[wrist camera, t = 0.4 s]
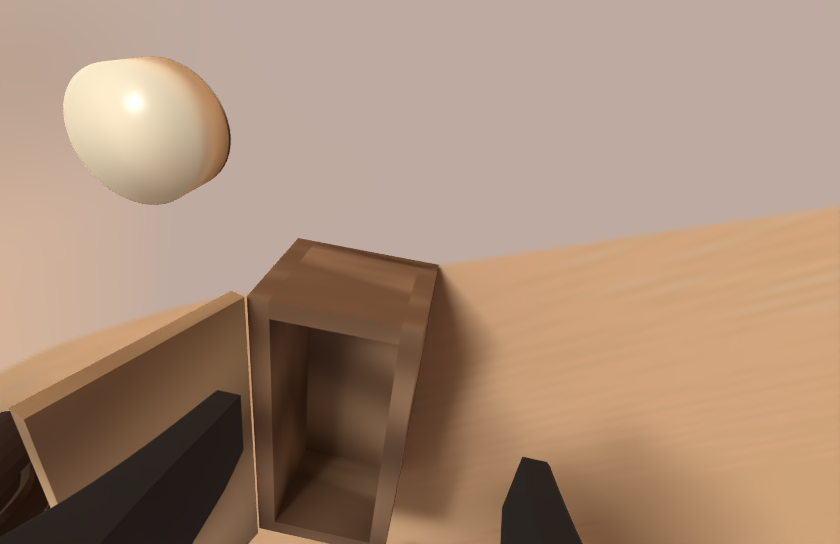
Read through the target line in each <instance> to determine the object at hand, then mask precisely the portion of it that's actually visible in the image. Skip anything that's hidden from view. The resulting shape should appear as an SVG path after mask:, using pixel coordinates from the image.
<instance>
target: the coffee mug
mask: <svg viewBox="0 0 840 544" xmlns="http://www.w3.org/2000/svg"><path fill="white" fill-rule="evenodd" d="M50 508H51V507H50V505H49V502H48V500H47V498H46V495H45V493H44V491H43V488H42V486H41V483H40V481H39V479H38V476H37V474H36V471H35V469H34V467H33V464H32V462H31V460H30V457H29V455H28V452H27V450H26V448H25V445H24V443H23V440H22V438H21V436H20V433H19V431H18V429H17V426H16V424H15V421H14V419H13V417H12V414H11V412H10V411H5V412H1V413H0V537H1V536H3V535H5V534H6V533H8V532H10V531H12V530H13V529H15V528H17V527H19V526H21V525H22V524H24V523H26V522H28V521H30V520H31V519H33V518H35V517H37V516H38V515H40V514H42V513H43V512H45V511H47V510H48V509H50Z"/></svg>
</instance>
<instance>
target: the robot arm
mask: <svg viewBox="0 0 840 544" xmlns="http://www.w3.org/2000/svg"><path fill="white" fill-rule="evenodd" d="M243 450H244V447H243V428H242V409H241V395H238V394H233V393H229V392H224V391H220V390H217V391H215V392H214V393H212V394H211V395H210V396H209V397H207V398H206V399H205V400H204V401H202V402H201V403H200V404H198V405H197V406H196V407H195V408H193V409H192V410H191V411H190V412H188V413H187V414H186V415H184V416H183V417H182V418H181V419H179V420H178V421H177V422H175V423H174V424H173V425H171V426H170V427H169V428H168V429H166V430H165V431H164V432H162V433H161V434H160V435H158V436H157V437H156V438H154V439H153V440H151V441H150V442H149V443H147V444H146V445H145V446H143V447H142V448H141V449H139V450H138V451H137V452H135V453H134V454H132V455H131V456H130V457H128V458H127V459H125V460H124V461H122V462H121V463H120V464H118V465H117V466H115V467H114V468H112V469H111V470H109V471H108V472H106V473H105V474H103V475H102V476H100V477H99V478H98V479H96V480H95V481H93V482H92V483H90V484H89V485H87V486H85V487H84V488H82V489H81V490H79V491H78V492H76V493H75V494H73V495H71V496H70V497H68V498H67V499H65V500H63V501H62V502H60V503H58V504H57V505H55V506H53V507H52V508H50V509H48V510H47V511H45V512H43V513H42V514H40V515H38V516H37V517H35V518H33V519H31V520H30V521H28V522H26V523H24V524H22V525H21V526H19V527H17V528H15V529H13V530H12V531H10V532H8V533H6V534H5V535H3V536H1V537H0V544H193V542H194V540H195V539H196V537H197V535H198V534H199V532H200V531H201V529H202V527H203V526H204V524H205V522H206V521H207V519H208V517H209V516H210V514H211V512H212V511H213V509H214V507H215V506H216V504H217V502H218V501H219V499H220V497H221V496H222V494H223V492H224V490H225V489H226V487H227V485H228V482H229V480H230V478H231V476H232V474H233V472H234V470H235V468H236V465H237V463H238V461H239V459H240V457H241V454H242V452H243ZM501 544H582V542H581V539H580V537H579V535H578V533H577V531H576V529H575V526H574V524H573V522H572V520H571V517H570V515H569V513H568V510H567V508H566V506H565V503H564V501H563V498H562V496H561V494H560V491H559V489H558V486H557V483H556V481H555V478H554V476H553V473H552V471H551V468H550V466H549V464H548V463H547V462H544V461H539V460H535V459H530V458H526V457H522V459H521V462H520V464H519V467H518V469H517V472H516V474H515V477H514V479H513V482H512V484H511V487H510V489H509V492H508V494H507V497H506V499H505V502H504V504H503V507H502V524H501Z"/></svg>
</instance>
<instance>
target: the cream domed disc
mask: <svg viewBox="0 0 840 544" xmlns="http://www.w3.org/2000/svg"><path fill="white" fill-rule="evenodd" d="M63 111H64V121H65V126H66V130H67V133H68V136H69V139H70V141H71V144H72V146H73V148H74V150H75V151H76V153H77V155H78V156H79V158H80V160H81V161H82V162H83V164H84V165H85V166H86V168H87V169H88V170H89V171H90V172H91V173H92V174H93V175H94V177H96V178H97V179H98V180H99V181H100V182H101V183H102V184H103V185H105V186H106V187H107V188H109V189H110V190H112V191H113V192H115V193H117V194H118V195H120V196H122V197H124V198H126V199H129V200H132V201H134V202H138V203H142V204H150V205H159V204H166V203H169V202H172V201H174V200H176V199H178V198H180V197H182V196H183V195H185V194H187V193H189V192H190V191H192V190H194V189H196V188H197V187H199V186H201V185H203V184H204V183H206V182H208V181H210V180H212V179H213V178H214V177H216V176H217V174H219V173H220V172H221V170H222V169H223V167H224V166H225V164H226V162H227V159H228V156H229V153H230V146H231V134H230V127H229V123H228V119H227V116H226V113H225V110H224V109H223V106H222V104H221V102H220V101H219V99H218V97H217V96H216V94H215V93H214V91H213V90H212V89H211V88H210V86H209V85H208V84H207V83H206V82H205V81H204V80H203V79H202V78H201V77H200V76H199V75H198V74H196V73H195V72H194V71H192V70H191V69H189V68H188V67H186V66H184V65H183V64H181V63H179V62H176V61H174V60H171V59H167V58H163V57H154V56H153V57H141V58H131V59H122V60H112V61H103V62H98V63H94V64H91V65H89V66H86V67H84V68H83V69H82V70H80V71H79V72H78V73H77V74H76V75H75V76H74V77H73V78H72V80H71V81H70V83H69V85H68V88H67V90H66V93H65V97H64V105H63Z"/></svg>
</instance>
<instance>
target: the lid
mask: <svg viewBox="0 0 840 544" xmlns="http://www.w3.org/2000/svg"><path fill="white" fill-rule="evenodd" d="M217 390H220V391H224V392H229V393H233V394H238V395H241V409H242V428H243V447H244V450H243V452H242V454H241V457H240V459H239V461H238V463H237V465H236V468H235V470H234V472H233V474H232V476H231V478H230V480H229V482H228V485H227V487H226V489H225V490H224V492H223V494H222V496H221V497H220V499H219V501H218V502H217V504H216V506H215V507H214V509H213V511H212V512H211V514H210V516H209V517H208V519H207V521H206V522H205V524H204V526H203V527H202V529H201V531H200V532H199V534H198V535H197V537H196V539H195V540H194V542H193V544H248V543H249V542H250V541H251V540H252V539H253V538H254V537H255V536H256V534H257V533H258V527H257V510H256V493H255V475H254V458H253V441H252V424H251V406H250V389H249V372H248V355H247V337H246V320H245V303H244V297H243V296H241V295H239V294H237V293H235V292H233V291H231V292H229V293H227V294H225V295H223V296H221V297H219V298H217V299H215V300H213V301H212V302H210V303H208V304H206V305H204V306H202V307H200V308H198V309H196V310H194V311H193V312H191V313H189V314H187V315H185V316H183V317H181V318H179V319H177V320H175V321H174V322H172V323H170V324H168V325H166V326H164V327H162V328H160V329H158V330H156V331H155V332H153V333H151V334H149V335H147V336H145V337H143V338H141V339H139V340H137V341H136V342H134V343H132V344H130V345H128V346H126V347H124V348H122V349H120V350H119V351H117V352H115V353H113V354H111V355H109V356H107V357H105V358H103V359H101V360H100V361H98V362H96V363H94V364H92V365H90V366H88V367H86V368H84V369H82V370H81V371H79V372H77V373H75V374H73V375H71V376H69V377H67V378H65V379H63V380H62V381H60V382H58V383H56V384H54V385H52V386H50V387H48V388H46V389H44V390H43V391H41V392H39V393H37V394H35V395H33V396H31V397H29V398H27V399H25V400H24V401H22V402H20V403H18V404H16V405H14V406H12V407H10V408H9V410H10V412H11V414H12V417H13V419H14V421H15V424H16V426H17V429H18V431H19V433H20V436H21V438H22V440H23V443H24V445H25V448H26V450H27V452H28V455H29V457H30V460H31V462H32V464H33V467H34V469H35V471H36V474H37V476H38V479H39V481H40V483H41V486H42V488H43V491H44V493H45V495H46V498H47V500H48V502H49V505H50V507H51V508H52V507H53V506H55V505H57V504H58V503H60V502H62V501H63V500H65V499H67V498H68V497H70V496H71V495H73V494H75V493H76V492H78V491H79V490H81V489H82V488H84V487H85V486H87V485H89V484H90V483H92V482H93V481H95V480H96V479H98V478H99V477H100V476H102V475H103V474H105V473H106V472H108V471H109V470H111V469H112V468H114V467H115V466H117V465H118V464H120V463H121V462H122V461H124V460H125V459H127V458H128V457H130V456H131V455H132V454H134V453H135V452H137V451H138V450H139V449H141V448H142V447H143V446H145V445H146V444H147V443H149V442H150V441H151V440H153V439H154V438H156V437H157V436H158V435H160V434H161V433H162V432H164V431H165V430H166V429H168V428H169V427H170V426H171V425H173V424H174V423H175V422H177V421H178V420H179V419H181V418H182V417H183V416H184V415H186V414H187V413H188V412H190V411H191V410H192V409H193V408H195V407H196V406H197V405H198V404H200V403H201V402H202V401H204V400H205V399H206V398H207V397H209V396H210V395H211V394H212V393H214V392H215V391H217Z"/></svg>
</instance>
